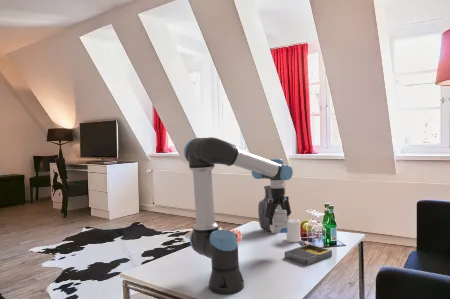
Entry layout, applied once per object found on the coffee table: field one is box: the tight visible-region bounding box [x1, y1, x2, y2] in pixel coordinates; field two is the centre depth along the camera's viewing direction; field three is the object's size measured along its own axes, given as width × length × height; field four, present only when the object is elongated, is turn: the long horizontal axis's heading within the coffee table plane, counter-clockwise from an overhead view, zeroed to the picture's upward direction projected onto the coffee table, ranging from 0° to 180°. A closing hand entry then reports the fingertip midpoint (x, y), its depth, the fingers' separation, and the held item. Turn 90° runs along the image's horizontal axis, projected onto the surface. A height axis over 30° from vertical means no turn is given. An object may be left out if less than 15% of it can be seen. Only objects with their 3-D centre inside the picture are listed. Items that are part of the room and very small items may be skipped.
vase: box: [257, 185, 282, 233], centre depth 230 cm, size 16×16×30 cm
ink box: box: [270, 210, 288, 234], centre depth 185 cm, size 9×5×12 cm, turn 84°
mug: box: [285, 218, 302, 243], centre depth 209 cm, size 12×8×12 cm
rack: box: [284, 243, 333, 266], centre depth 178 cm, size 19×15×3 cm
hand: (279, 228), depth 186 cm, fingers closed on ink box, 9 cm apart
